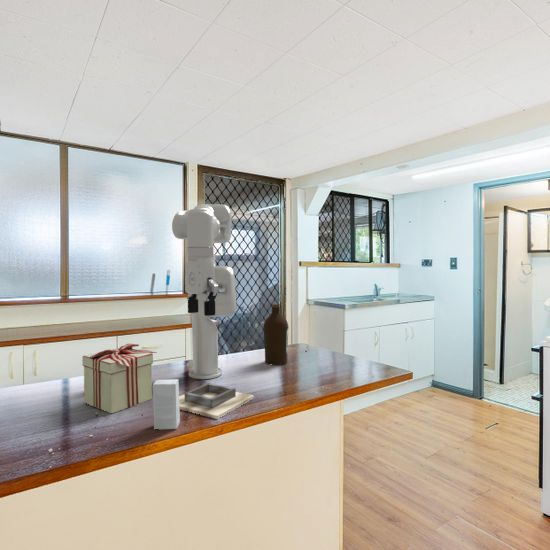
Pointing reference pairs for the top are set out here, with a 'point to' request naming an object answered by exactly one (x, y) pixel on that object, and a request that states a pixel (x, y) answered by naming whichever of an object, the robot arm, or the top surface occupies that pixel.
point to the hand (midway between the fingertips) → (201, 314)
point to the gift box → (118, 378)
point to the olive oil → (276, 337)
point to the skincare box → (166, 404)
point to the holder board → (213, 400)
